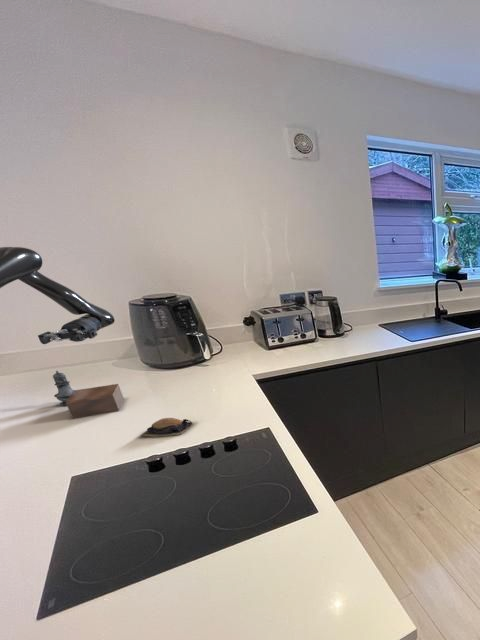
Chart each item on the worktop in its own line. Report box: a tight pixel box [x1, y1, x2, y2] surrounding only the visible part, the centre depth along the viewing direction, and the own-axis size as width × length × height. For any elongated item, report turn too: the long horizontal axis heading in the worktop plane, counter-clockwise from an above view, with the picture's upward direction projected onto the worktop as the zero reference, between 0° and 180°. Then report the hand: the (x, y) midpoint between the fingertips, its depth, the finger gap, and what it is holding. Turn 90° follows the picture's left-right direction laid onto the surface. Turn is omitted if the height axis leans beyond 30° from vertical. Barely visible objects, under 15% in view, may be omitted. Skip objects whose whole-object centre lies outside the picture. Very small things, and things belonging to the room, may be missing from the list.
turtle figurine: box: [141, 417, 194, 438], centre depth 122 cm, size 11×8×4 cm
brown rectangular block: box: [66, 383, 125, 420], centre depth 134 cm, size 11×11×6 cm
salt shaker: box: [52, 370, 75, 407], centre depth 136 cm, size 6×6×12 cm
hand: (59, 340), depth 142 cm, fingers open, 8 cm apart
